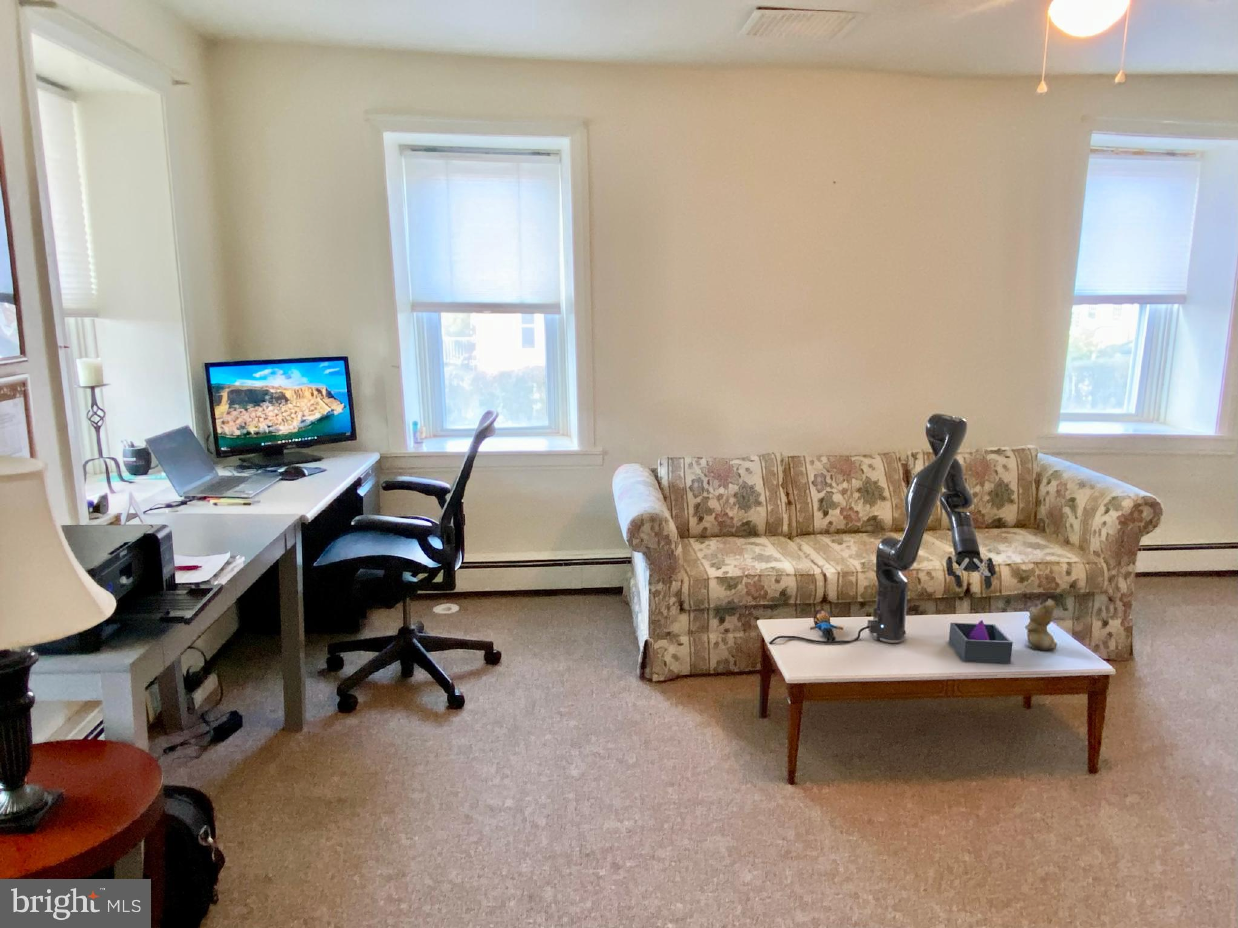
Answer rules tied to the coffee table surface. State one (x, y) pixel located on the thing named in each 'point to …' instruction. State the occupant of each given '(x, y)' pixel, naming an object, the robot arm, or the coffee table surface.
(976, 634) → the arrowhead
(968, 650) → the bin
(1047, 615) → the figurine
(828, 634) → the toy
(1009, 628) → the coffee table surface
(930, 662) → the coffee table surface
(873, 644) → the coffee table surface
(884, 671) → the coffee table surface
